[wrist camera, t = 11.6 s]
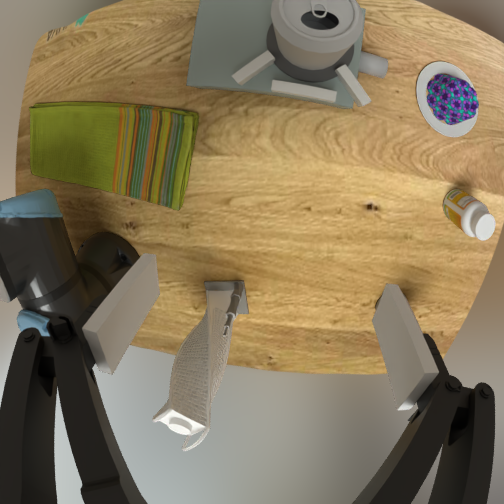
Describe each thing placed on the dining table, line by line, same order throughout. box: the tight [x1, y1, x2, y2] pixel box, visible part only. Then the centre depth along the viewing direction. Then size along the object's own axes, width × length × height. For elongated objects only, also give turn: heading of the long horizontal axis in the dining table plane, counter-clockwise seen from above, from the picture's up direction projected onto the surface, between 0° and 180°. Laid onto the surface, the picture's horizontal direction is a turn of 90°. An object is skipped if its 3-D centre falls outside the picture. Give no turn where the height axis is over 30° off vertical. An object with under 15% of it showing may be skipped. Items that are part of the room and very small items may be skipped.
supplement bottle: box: [443, 189, 495, 240], centre depth 33 cm, size 5×5×10 cm
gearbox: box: [186, 0, 388, 109], centre depth 28 cm, size 24×14×8 cm, turn 83°
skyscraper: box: [153, 281, 249, 451], centre depth 39 cm, size 8×8×28 cm
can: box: [271, 0, 364, 70], centre depth 20 cm, size 8×8×12 cm
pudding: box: [416, 61, 479, 137], centre depth 28 cm, size 12×12×5 cm
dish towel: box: [29, 102, 199, 210], centre depth 40 cm, size 15×36×3 cm, turn 77°
